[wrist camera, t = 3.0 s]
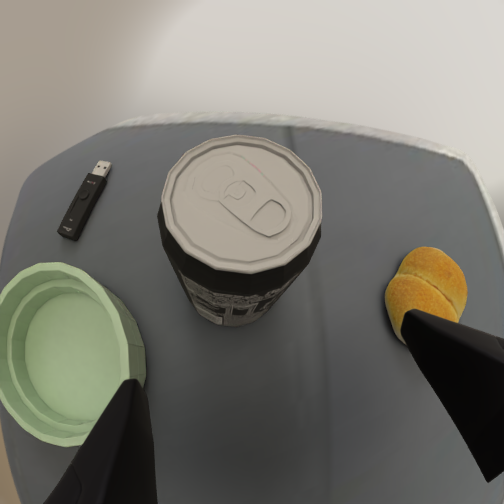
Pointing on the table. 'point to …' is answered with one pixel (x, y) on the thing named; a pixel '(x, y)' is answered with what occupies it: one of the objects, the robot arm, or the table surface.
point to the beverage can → (239, 225)
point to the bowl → (64, 351)
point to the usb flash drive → (84, 202)
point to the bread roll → (426, 287)
